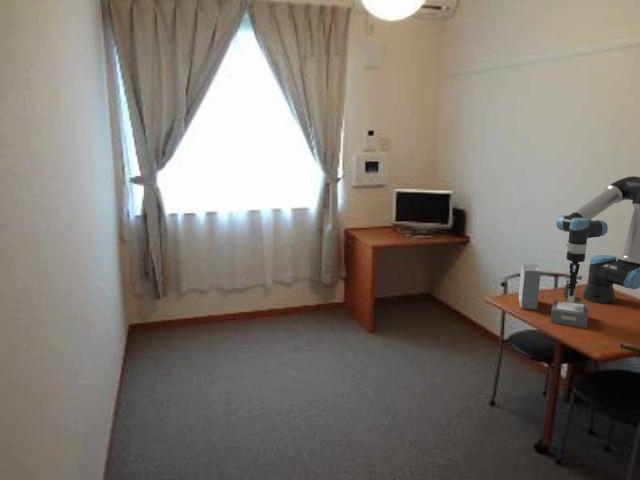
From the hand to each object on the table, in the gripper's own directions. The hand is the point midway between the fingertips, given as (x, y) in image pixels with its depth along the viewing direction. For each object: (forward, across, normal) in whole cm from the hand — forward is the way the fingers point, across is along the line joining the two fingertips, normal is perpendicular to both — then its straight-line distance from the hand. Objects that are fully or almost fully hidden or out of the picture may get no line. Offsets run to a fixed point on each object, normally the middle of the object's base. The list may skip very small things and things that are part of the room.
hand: (571, 299), depth 235 cm
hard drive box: (+10, -12, -20) cm, 26 cm away
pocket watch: (+1, 0, 0) cm, 1 cm away
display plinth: (+10, 0, 0) cm, 10 cm away
